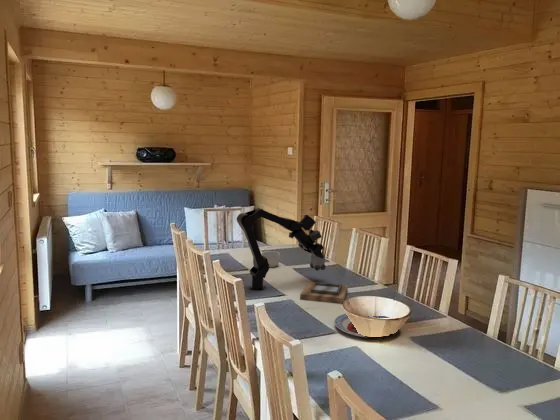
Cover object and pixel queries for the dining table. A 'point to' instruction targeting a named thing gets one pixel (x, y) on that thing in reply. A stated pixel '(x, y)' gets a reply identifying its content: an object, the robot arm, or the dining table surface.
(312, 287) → the dock
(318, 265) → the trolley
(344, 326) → the ceramic plate
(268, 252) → the teacup
